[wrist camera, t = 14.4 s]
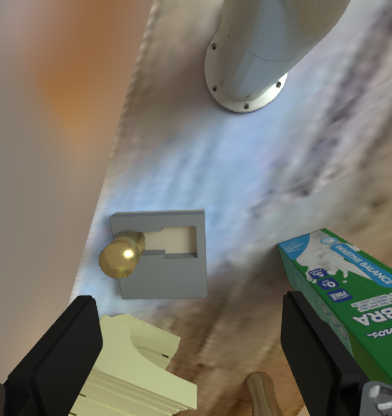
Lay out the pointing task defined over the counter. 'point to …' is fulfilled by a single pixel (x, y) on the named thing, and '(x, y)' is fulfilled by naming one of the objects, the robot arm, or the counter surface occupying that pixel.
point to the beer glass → (262, 395)
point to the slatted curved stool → (134, 373)
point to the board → (166, 254)
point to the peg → (122, 254)
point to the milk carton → (346, 295)
